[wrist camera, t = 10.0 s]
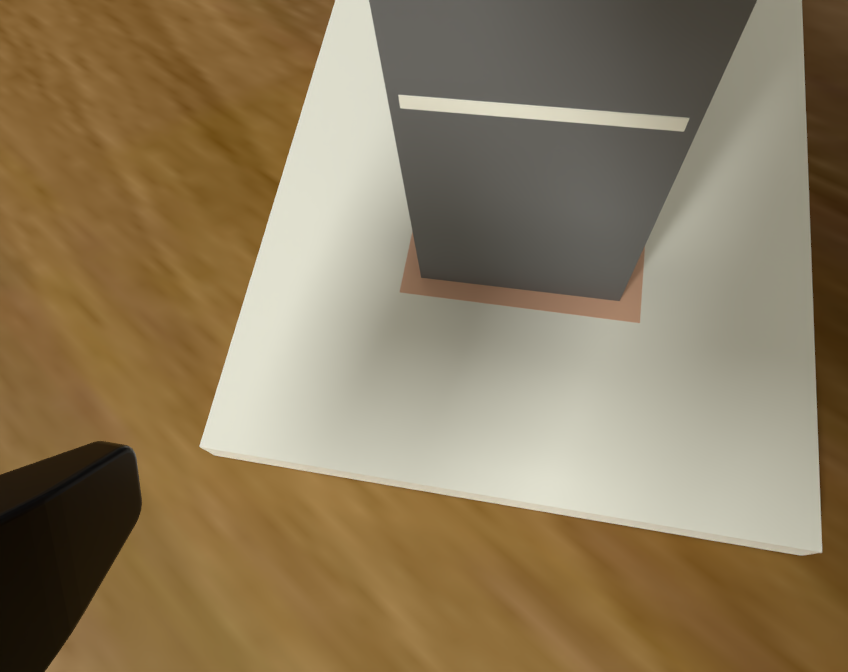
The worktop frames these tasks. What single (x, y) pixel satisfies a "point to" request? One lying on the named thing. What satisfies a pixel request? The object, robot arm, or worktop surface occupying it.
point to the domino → (546, 129)
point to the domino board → (545, 327)
